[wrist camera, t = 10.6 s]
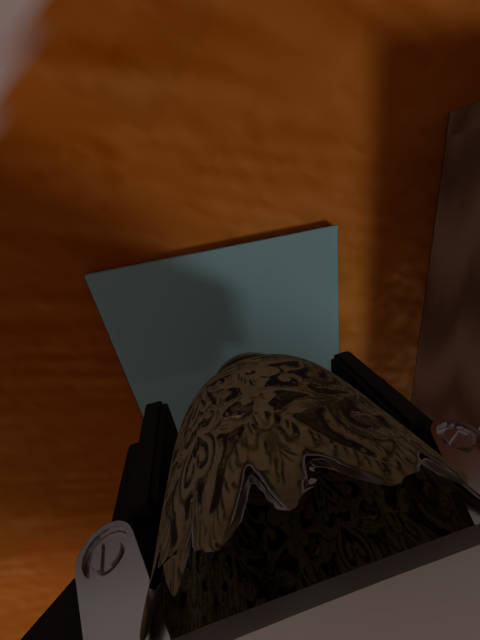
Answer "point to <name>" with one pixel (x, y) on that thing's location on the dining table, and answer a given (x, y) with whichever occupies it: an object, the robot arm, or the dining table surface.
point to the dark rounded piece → (287, 490)
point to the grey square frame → (454, 283)
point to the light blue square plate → (220, 311)
